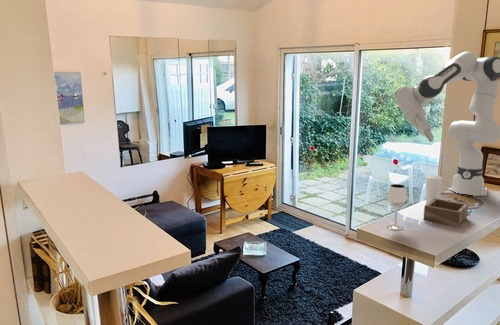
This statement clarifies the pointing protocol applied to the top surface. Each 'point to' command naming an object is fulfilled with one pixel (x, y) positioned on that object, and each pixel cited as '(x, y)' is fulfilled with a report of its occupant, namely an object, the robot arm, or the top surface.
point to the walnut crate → (445, 212)
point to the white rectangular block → (433, 188)
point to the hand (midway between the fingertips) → (432, 140)
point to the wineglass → (396, 201)
